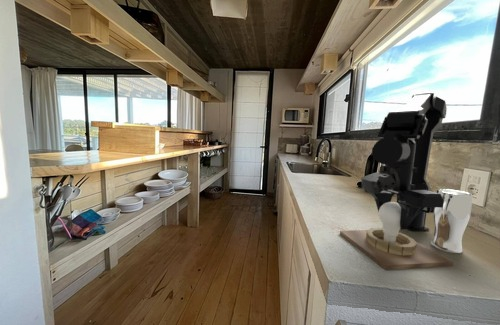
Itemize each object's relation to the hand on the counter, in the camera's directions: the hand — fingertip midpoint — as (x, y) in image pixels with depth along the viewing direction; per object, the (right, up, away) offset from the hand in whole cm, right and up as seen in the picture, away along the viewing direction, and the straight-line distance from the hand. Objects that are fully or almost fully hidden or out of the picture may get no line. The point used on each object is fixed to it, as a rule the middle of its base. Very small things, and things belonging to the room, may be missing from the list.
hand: (392, 223), depth 54 cm
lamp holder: (0, -6, +1) cm, 7 cm away
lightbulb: (0, -6, +1) cm, 6 cm away
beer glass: (+16, -7, +2) cm, 17 cm away
